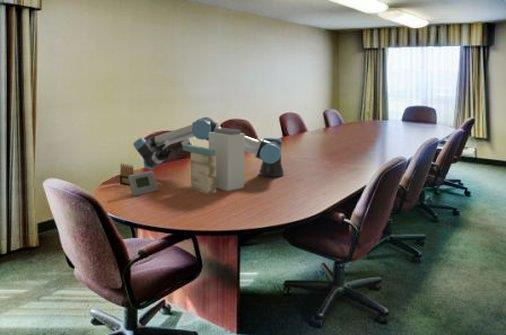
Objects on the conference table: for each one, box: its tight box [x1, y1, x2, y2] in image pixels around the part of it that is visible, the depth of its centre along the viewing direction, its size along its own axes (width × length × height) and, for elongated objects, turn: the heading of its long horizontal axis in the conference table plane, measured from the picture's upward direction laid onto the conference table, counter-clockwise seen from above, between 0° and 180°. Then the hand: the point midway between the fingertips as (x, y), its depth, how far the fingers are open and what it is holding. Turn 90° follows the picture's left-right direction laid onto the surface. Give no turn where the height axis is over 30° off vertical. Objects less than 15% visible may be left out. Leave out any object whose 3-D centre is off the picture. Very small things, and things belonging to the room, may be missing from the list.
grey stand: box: [208, 127, 246, 192], centre depth 250 cm, size 12×16×32 cm
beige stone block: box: [190, 152, 217, 195], centre depth 242 cm, size 6×14×20 cm, turn 44°
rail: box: [182, 143, 215, 156], centre depth 242 cm, size 3×24×3 cm, turn 44°
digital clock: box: [128, 170, 158, 197], centre depth 236 cm, size 16×9×11 cm, turn 130°
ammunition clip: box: [119, 162, 135, 187], centre depth 252 cm, size 11×2×12 cm, turn 56°
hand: (178, 141), depth 254 cm, fingers open, 13 cm apart
